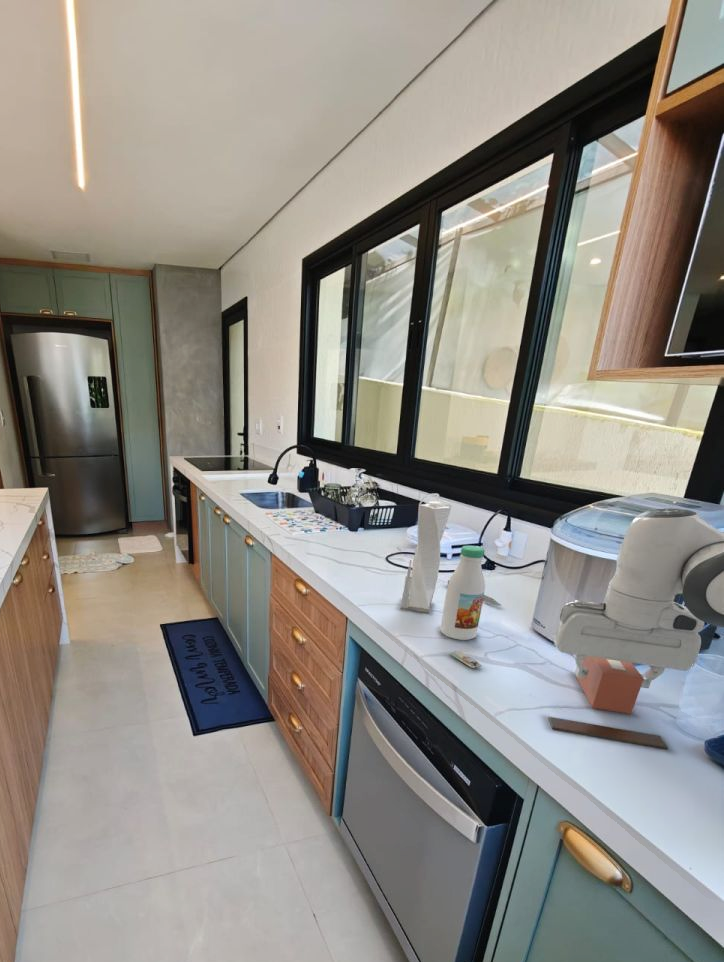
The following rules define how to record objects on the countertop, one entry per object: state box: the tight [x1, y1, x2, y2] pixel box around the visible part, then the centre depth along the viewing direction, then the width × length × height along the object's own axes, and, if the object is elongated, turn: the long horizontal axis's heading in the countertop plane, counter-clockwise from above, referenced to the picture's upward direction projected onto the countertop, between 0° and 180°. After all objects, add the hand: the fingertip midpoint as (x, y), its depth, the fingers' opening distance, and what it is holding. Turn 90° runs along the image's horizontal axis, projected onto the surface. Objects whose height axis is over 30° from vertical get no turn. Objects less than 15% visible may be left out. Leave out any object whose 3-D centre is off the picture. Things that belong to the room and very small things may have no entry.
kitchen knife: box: [447, 579, 502, 607], centre depth 135 cm, size 18×1×2 cm, turn 27°
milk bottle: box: [440, 545, 486, 641], centre depth 110 cm, size 8×8×20 cm
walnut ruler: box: [548, 716, 669, 750], centre depth 80 cm, size 16×3×1 cm, turn 74°
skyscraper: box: [400, 493, 452, 614], centre depth 123 cm, size 8×8×28 cm
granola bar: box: [449, 650, 482, 669], centre depth 101 cm, size 7×2×1 cm, turn 25°
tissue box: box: [574, 656, 644, 715], centre depth 90 cm, size 6×12×7 cm, turn 164°
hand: (610, 681), depth 87 cm, fingers open, 8 cm apart
